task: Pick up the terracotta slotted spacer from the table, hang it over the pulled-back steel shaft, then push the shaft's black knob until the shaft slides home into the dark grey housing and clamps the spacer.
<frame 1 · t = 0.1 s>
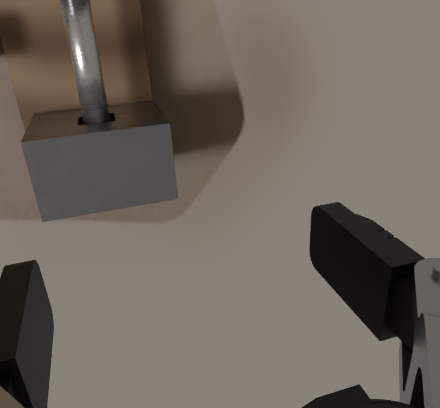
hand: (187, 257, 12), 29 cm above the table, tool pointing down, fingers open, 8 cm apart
housing: (103, 154, 34), on the baseboard, point 6 cm above the table
shaft: (82, 42, 30), point 6 cm above the table, slide at 6.0 cm
baseboard: (92, 92, 37), on the table
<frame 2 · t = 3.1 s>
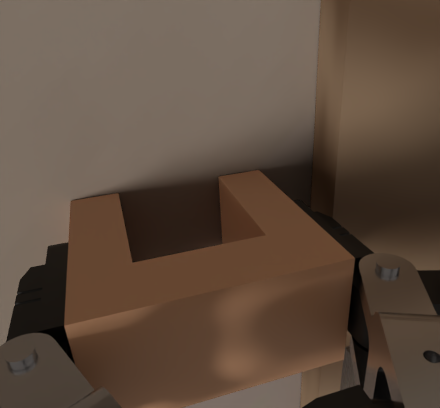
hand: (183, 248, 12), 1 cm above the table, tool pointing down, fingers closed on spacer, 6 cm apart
baseboard: (426, 278, 19), on the table
spacer: (174, 226, 14), on the table, touching gripper
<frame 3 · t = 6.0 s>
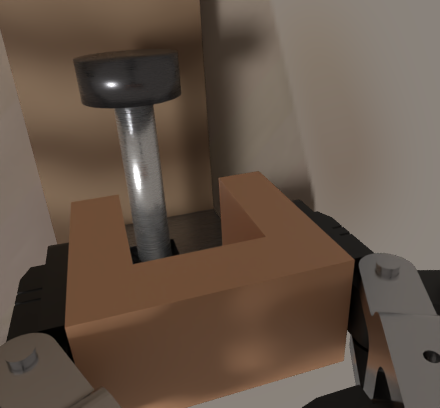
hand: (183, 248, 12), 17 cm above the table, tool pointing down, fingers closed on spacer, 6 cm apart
housing: (160, 291, 27), on the baseboard, point 6 cm above the table
shaft: (142, 169, 23), point 6 cm above the table, slide at 6.0 cm
baseboard: (140, 199, 30), on the table
spacer: (174, 227, 14), point 16 cm above the table, touching gripper
when the fingers open (5 cm above the table, at t = 9.1 s): spacer stays where it is, resting on shaft.
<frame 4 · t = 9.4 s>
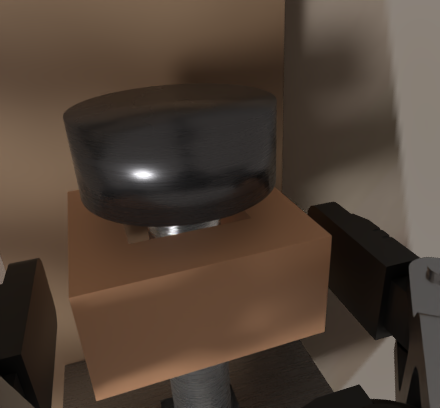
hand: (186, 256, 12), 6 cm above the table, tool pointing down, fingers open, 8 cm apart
shaft: (192, 300, 13), point 6 cm above the table, slide at 6.0 cm, touching spacer
baseboard: (170, 298, 20), on the table
spacer: (166, 215, 15), point 3 cm above the table, touching shaft
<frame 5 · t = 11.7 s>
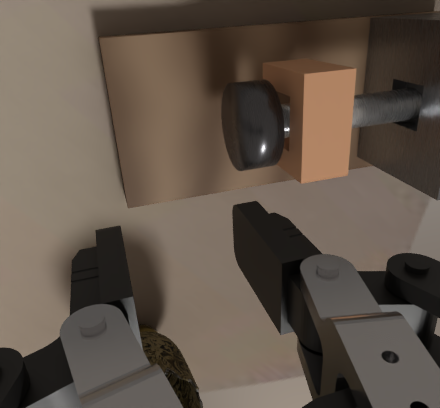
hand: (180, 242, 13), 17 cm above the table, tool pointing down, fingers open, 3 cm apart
shaft: (327, 115, 25), point 6 cm above the table, slide at 6.0 cm, touching spacer
baseboard: (340, 90, 31), on the table
spacer: (284, 108, 27), point 3 cm above the table, touching shaft
cup: (137, 336, 36), on the table
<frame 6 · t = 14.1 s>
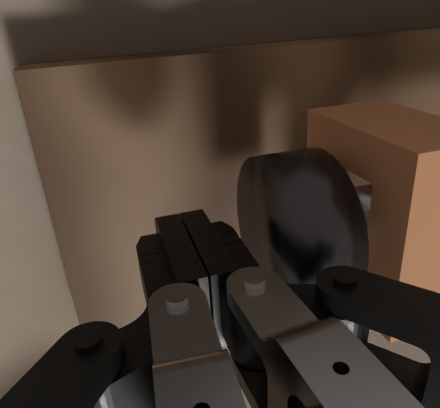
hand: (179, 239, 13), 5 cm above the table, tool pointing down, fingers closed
shaft: (425, 203, 14), point 6 cm above the table, slide at 6.0 cm, touching gripper, spacer
baseboard: (413, 137, 21), on the table
spacer: (339, 179, 17), point 3 cm above the table, touching shaft
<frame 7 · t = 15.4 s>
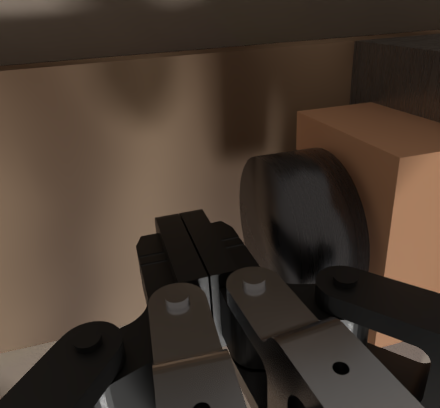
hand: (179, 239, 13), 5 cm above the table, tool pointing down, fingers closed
shaft: (429, 204, 14), point 6 cm above the table, slide at -0.1 cm, touching gripper, spacer
baseboard: (307, 156, 19), on the table
spacer: (330, 182, 16), point 3 cm above the table, touching housing, shaft
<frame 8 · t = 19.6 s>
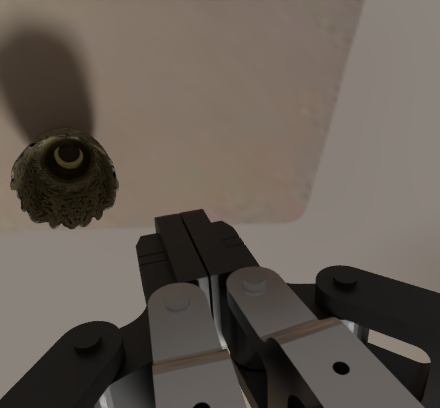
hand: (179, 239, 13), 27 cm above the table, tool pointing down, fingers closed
cup: (69, 152, 38), on the table
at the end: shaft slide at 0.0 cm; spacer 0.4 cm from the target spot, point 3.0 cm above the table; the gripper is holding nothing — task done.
